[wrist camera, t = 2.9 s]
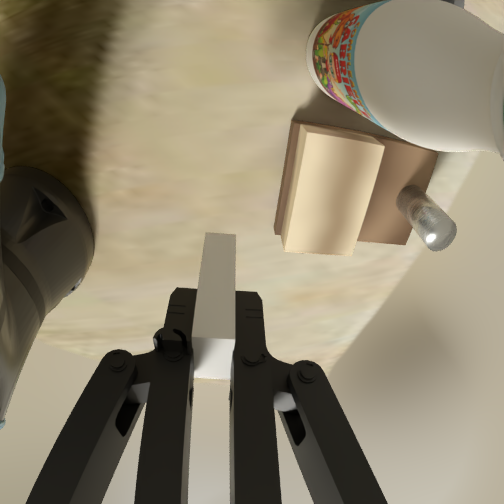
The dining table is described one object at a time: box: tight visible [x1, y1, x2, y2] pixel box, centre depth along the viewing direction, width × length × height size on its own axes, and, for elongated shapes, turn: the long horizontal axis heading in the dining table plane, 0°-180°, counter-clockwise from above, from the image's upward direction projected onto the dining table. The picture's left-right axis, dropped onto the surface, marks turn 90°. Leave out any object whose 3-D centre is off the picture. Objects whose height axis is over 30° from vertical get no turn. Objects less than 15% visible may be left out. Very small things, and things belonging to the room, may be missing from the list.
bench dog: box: [396, 185, 457, 251], centre depth 24 cm, size 3×3×6 cm
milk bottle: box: [306, 0, 504, 160], centre depth 12 cm, size 8×8×20 cm
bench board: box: [274, 120, 438, 245], centre depth 26 cm, size 14×10×1 cm
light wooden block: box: [281, 124, 385, 256], centre depth 24 cm, size 6×10×2 cm, turn 174°
